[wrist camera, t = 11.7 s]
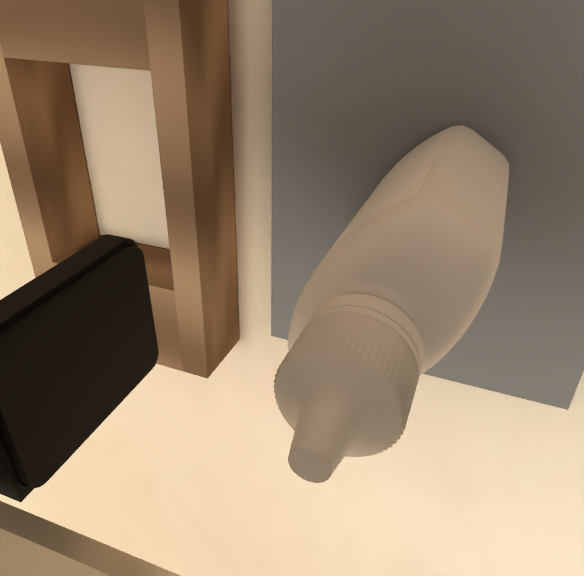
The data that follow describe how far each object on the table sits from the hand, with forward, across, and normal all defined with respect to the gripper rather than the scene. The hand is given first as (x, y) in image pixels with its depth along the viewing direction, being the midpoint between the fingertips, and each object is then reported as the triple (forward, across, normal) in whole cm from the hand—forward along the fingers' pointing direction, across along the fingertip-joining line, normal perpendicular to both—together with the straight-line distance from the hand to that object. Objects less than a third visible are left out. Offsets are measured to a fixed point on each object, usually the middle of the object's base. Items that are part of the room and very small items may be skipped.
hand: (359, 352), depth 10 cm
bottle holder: (+10, +12, +1) cm, 15 cm away
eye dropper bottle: (+10, 0, +1) cm, 10 cm away
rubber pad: (+10, 0, +1) cm, 10 cm away
